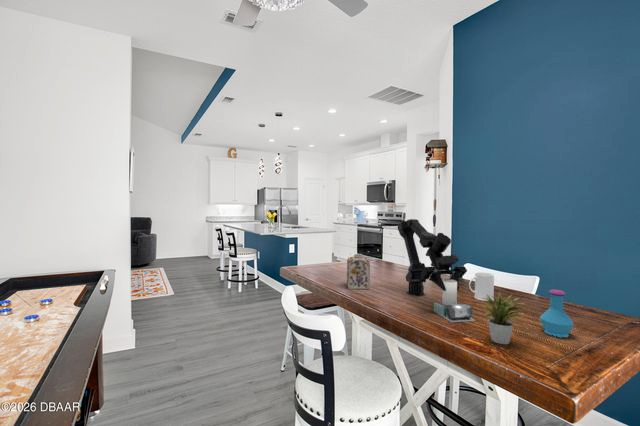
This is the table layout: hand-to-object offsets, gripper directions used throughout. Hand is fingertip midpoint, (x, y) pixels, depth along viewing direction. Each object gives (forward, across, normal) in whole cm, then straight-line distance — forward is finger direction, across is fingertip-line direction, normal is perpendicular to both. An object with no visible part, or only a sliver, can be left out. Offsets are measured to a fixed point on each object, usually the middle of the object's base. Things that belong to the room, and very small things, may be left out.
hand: (451, 290), depth 121 cm
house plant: (+25, 0, -11) cm, 27 cm away
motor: (+8, 0, +6) cm, 10 cm away
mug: (-6, +28, +21) cm, 35 cm away
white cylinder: (+4, 0, +6) cm, 7 cm away
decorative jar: (-26, -25, +41) cm, 55 cm away
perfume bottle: (+23, +26, -8) cm, 35 cm away
